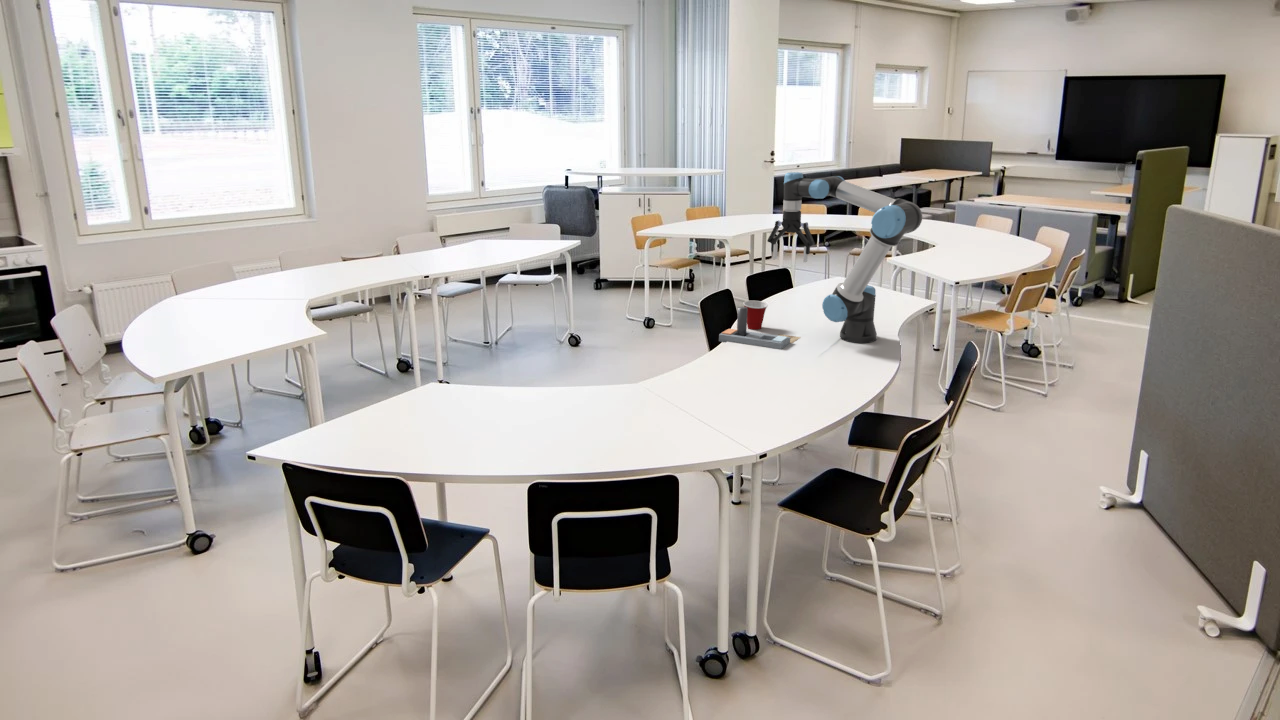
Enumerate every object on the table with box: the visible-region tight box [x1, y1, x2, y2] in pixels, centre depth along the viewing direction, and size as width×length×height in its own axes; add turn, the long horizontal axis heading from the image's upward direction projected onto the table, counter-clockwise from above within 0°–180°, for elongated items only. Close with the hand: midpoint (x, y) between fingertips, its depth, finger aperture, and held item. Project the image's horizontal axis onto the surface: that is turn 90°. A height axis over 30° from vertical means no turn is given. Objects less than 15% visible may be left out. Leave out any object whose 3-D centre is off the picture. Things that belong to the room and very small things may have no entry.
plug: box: [736, 306, 748, 337], centre depth 347 cm, size 4×4×14 cm
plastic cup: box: [742, 300, 769, 331], centre depth 364 cm, size 11×11×12 cm
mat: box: [776, 333, 801, 344], centre depth 350 cm, size 10×10×1 cm
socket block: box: [718, 328, 791, 350], centre depth 346 cm, size 28×10×4 cm, turn 59°
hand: (790, 260), depth 352 cm, fingers open, 13 cm apart
